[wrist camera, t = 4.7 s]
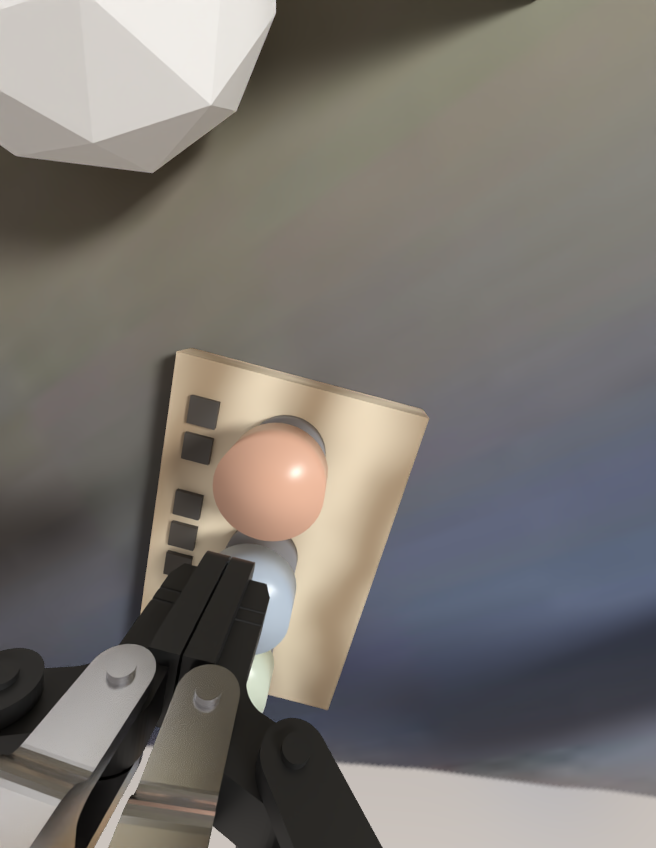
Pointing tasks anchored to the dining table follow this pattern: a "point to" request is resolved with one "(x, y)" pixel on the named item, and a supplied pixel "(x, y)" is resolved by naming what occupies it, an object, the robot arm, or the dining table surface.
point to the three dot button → (270, 590)
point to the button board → (333, 529)
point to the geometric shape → (123, 76)
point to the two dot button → (271, 482)
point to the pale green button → (260, 679)
